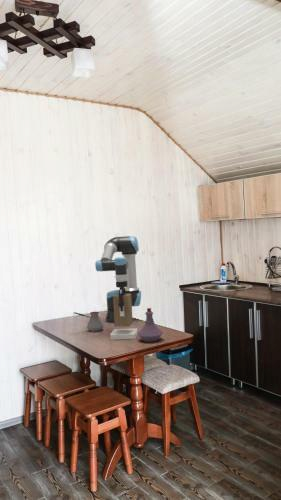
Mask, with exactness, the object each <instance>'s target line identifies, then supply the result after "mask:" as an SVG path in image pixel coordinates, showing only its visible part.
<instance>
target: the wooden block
mask: <svg viewBox="0 0 281 500" xmlns="http://www.w3.org/2000/svg"><path fill="white" fill-rule="evenodd" d="M113 304H114V322H113V323H114V327H130V326H131V325H132V324H133V306H132V299H131V293H127V294H124V295H123V305H124V316H120V306H118V305H119V294H116V295H114V296H113Z"/></svg>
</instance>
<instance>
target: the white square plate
mask: <svg viewBox="0 0 281 500" xmlns="http://www.w3.org/2000/svg"><path fill="white" fill-rule="evenodd" d="M138 330H139V329H138V327H137V328H136V327H135V328H114V329H113V330H112V332H111V333H110V336H109V338H110V340H111V341H113V340H136V338H137V337H138V333H139V331H138Z"/></svg>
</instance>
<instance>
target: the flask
mask: <svg viewBox="0 0 281 500" xmlns="http://www.w3.org/2000/svg"><path fill="white" fill-rule="evenodd" d="M144 314H145V316H146V318H145V324H144V325H143V327H141V328H140V330H139V331H138V333H137V336H138V337H139V338H140V339H141V340H142V341H143V342H145V343H153V342H157V341H158V340H160V338H161V336H162V335H164V332H163V331H162V330H161V329H160V328H159V327H158V326H157V325H156V323H155V321H154V317H153V315H154V311H152V308H151V307H148V308H146V312H145V313H144Z"/></svg>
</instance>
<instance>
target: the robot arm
mask: <svg viewBox="0 0 281 500" xmlns="http://www.w3.org/2000/svg"><path fill="white" fill-rule="evenodd" d="M139 251H140V247H139V241H138V239H137V237H136V236H135V235H134V236H133V235H128V236H114V237H112V238H110V239H109V240H108V241H106V242H105V244H104V246H103V253H102V255H101V258H100V259H98V260H96V261H95V264H94V265H95V271H96V272H113V271H114V272H115V276H114V279H115V287H116V288H119V289H114V290H110V291H108V292H107V293H106V307H107V309H106V310H107V311H106V315H105V322H107V323H115V322H114V304H113V296H114V295H116V294H119V305H118V306H120V316H124V305H123V295H124V294H127V293H131V299H132V307H139V306H140V305H141V300H142V291H141V290H140V288H139V287H138V282H137V281H138V280H137V266H136V265H137V263H136V255H137V254H138V252H139ZM116 253H121V255H122V256H118V257H115V258H114V259H113V257H114V254H116Z"/></svg>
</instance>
